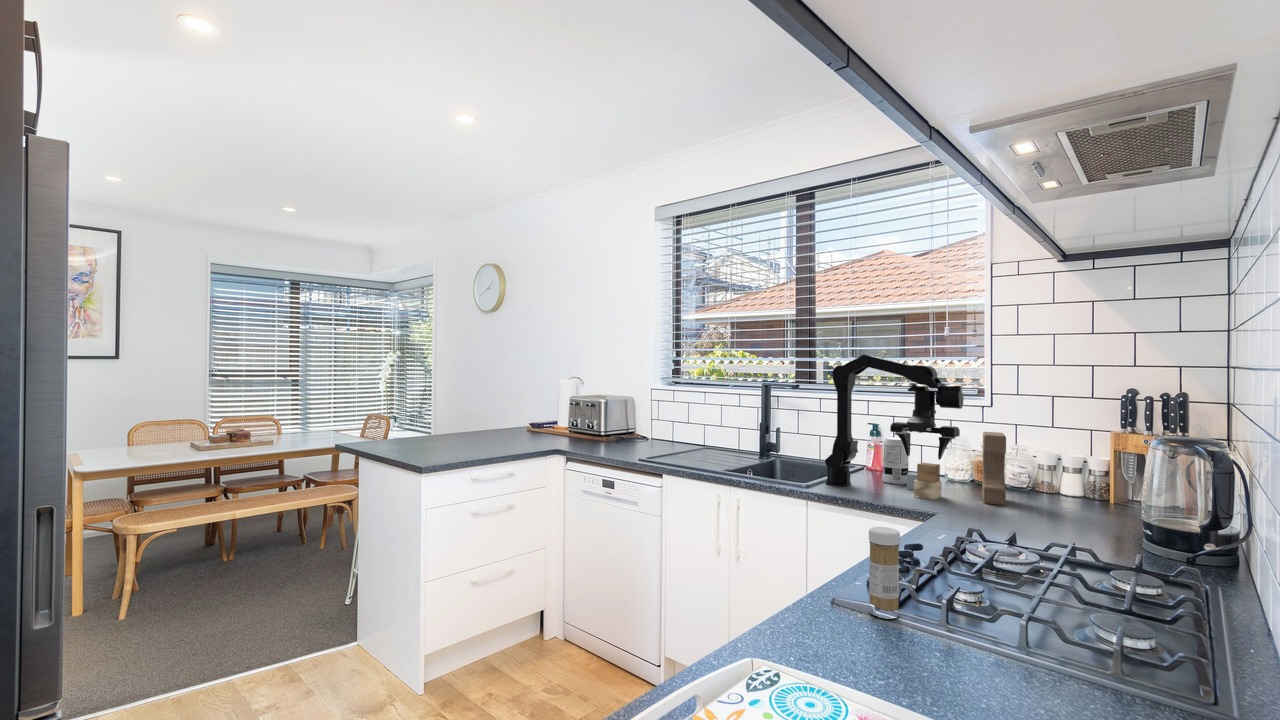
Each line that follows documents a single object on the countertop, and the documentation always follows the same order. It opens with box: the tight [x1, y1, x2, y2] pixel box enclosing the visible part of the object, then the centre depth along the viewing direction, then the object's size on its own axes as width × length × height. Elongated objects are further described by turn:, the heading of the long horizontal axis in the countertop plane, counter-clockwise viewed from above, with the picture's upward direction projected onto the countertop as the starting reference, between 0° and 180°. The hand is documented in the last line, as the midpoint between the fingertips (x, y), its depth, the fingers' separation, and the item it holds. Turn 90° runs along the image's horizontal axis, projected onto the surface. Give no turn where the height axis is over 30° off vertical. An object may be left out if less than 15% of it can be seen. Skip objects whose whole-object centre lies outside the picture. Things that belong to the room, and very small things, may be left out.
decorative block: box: [981, 431, 1007, 506], centre depth 183 cm, size 11×6×20 cm, turn 152°
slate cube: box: [906, 471, 917, 490], centre depth 200 cm, size 5×5×5 cm
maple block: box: [913, 480, 942, 500], centre depth 188 cm, size 6×6×5 cm
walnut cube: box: [916, 462, 941, 483], centre depth 188 cm, size 5×5×5 cm
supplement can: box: [881, 436, 909, 485], centre depth 211 cm, size 8×8×15 cm
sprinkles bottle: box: [868, 526, 901, 611], centre depth 97 cm, size 5×5×14 cm
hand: (923, 457), depth 189 cm, fingers open, 9 cm apart
